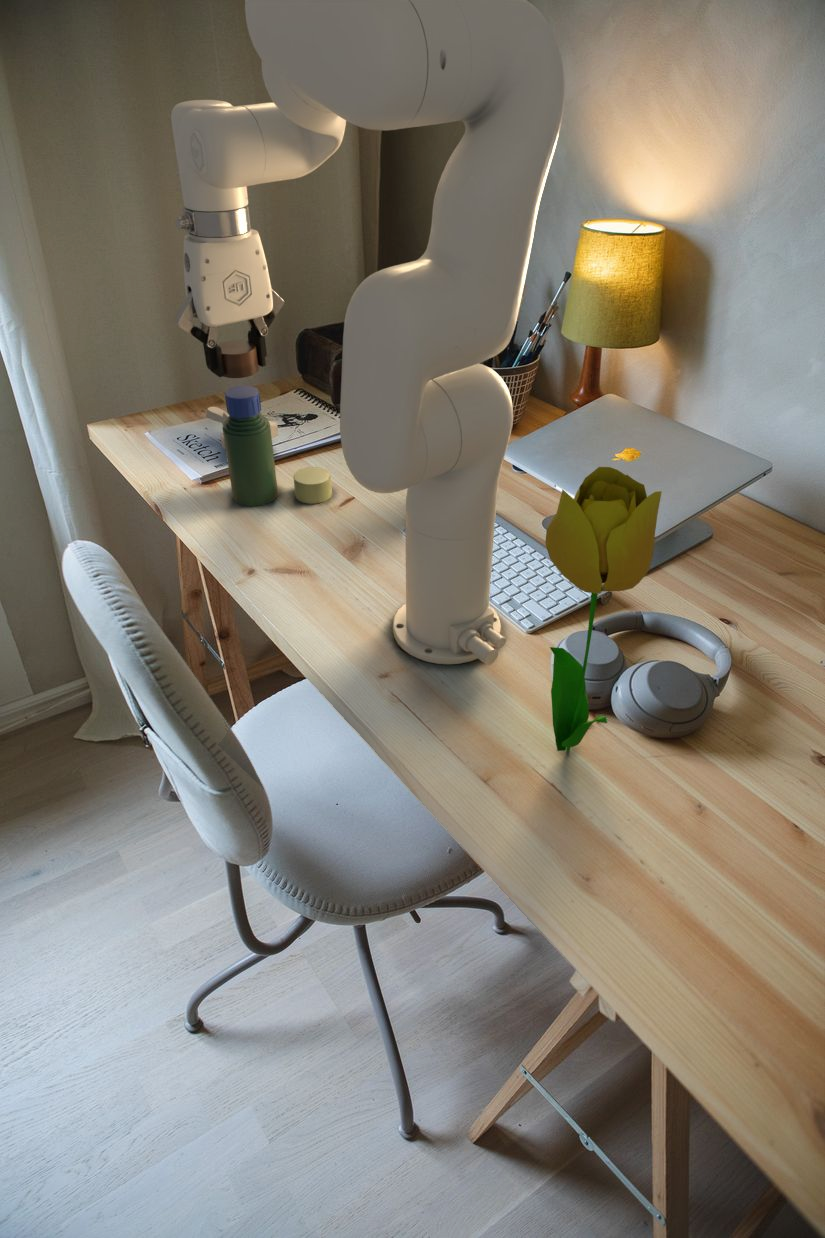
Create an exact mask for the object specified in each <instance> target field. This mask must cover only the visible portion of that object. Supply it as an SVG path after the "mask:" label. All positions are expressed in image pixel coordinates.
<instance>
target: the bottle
mask: <svg viewBox="0 0 825 1238" xmlns="http://www.w3.org/2000/svg"><path fill="white" fill-rule="evenodd" d="M269 421H270V420H268V418H267V417H266V416H264V415H263V414H262V413H261V412H260V413H259V414H257V415H256V416H253V417H249V418H235V417H232V416H230V415H229V417H228V418H227V419H226V421H225V422H224V424H223V425H222V427H221V428H222V434H223V436H224V442H225V449H224V450H225V454H226V460H227V467H228V474H229V479H230V480H229V481H230V487H231V494H232V499H233V500H234V502H235V503H237V504H238V505H241V506H244V507H259V506H260V507H261V506H264V505H265V506H266V505H268V504H270V503H271V502H273V501H274V500H276V499H277V498H278V495H279V491H278V481H277V473H276V465H275V456H274V448H273V447H274V445H273V438H272V437H271V428H270V423H269Z"/></svg>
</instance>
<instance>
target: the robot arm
mask: <svg viewBox="0 0 825 1238" xmlns="http://www.w3.org/2000/svg"><path fill="white" fill-rule="evenodd" d="M244 13H245V22H246V27H247V32H248V35H249V38H250V40H251V43H252V46H253V48H254V50H255V51H256V54H257V55H258V57H259V59H260V60H261V76H262V80H263V83H264V87H265V89H266V92H267V94H268V96H269V97H270V100H271V101H272V102H262V103H254V104H244V105H237V106H236V105H235V106H234V105H232V103H230V102H228V101H224V100H218V99H193V100H185V101H182V102H179V103H177V104H175V105H174V106H173V108H172V110H171V113H170V121H171V122H170V123H171V130H172V135H173V143H174V149H175V156H176V162H177V167H178V176H179V182H180V187H181V189H180V190H181V195H182V200H183V201H182V202H183V206H184V207H183V208H182V211H183V214H182V215H180V216H177V217H175V221H174V222H175V226H176V228H177V230H178V231H181V230H184V231H186V232H187V233H188V234H187V235H184V237H183V253H182V255H183V256H182V257H183V279H184V288H185V289H184V290H185V299H184V301H183V303H182V305H181V307H180V309H179V310H178V312H177V314H176V316H175V318H174V320H173V323H174V325H175V326H176V327H178V328H179V329H181V330H183V331H185V332H186V333H187V334H189V335H190V336H193V338H195V339H197V340H198V341H199V342H200V343H202V346H203V352H204V358H205V365H206V367H207V369H208V370H209V371H210V372H211V373H213V374H214V375H215V376H217V377H218V378H224V377H223V376H224V375H225V372H224V365H223V358H222V351H221V347H220V346H218V334H219V327H220V326H225V325H230V324H231V325H232V324H235V323H239V322H244V321H247V323H248V325H249V327H250V329H249V330H248V331H247V341H250V342H253V343H254V344H255V345H256V351H257V359H258V367H261V368H263V367H265V366H267V362H266V361H267V360H266V357H268V356H267V355H268V352H267V351H268V350H267V343H266V336H267V335H268V334H269V328H270V327H271V325H272V323H273V322H274V320H275V318H276V315H278V314H279V313H280V311H281V310H282V308H283V306H284V305H285V301H284V299H283V298H282V297H281V296H280V295H279V294H278V293H277V292H276V291H275V290H274V289H273V288H272V283H271V279H270V273H269V268H268V263H267V259H266V255H265V251H264V247H263V243H262V240H261V236H260V234H259V231H258V230H256V229H253V228H252V224H251V215H250V214H251V213H250V204H249V197H248V187H253V186H257V185H261V184H268V183H274V182H282V181H287V180H294V179H295V180H296V179H299V178H302V177H304V176H307V175H309V174H311V173H312V172H314V171H315V170H316V169H318V168H319V167H320V166H322V165H323V164H324V163H325V162H326V161H327V160H328V159H330V157H332V156H333V155H334V154H335V153H336V152H337V151H338V150H339V148H340V147H341V145H342V142H343V140H344V136H345V131H346V126H347V123H350V124H352V125H353V126H357V127H359V128H362V129H366V130H370V131H371V130H372V131H397V130H402V129H403V130H404V129H410V128H416V127H426V126H427V127H428V126H433V125H441V124H447V123H454V122H460V121H461V122H462V123H463V124H464V127H465V129H464V134H463V135H462V137H461V139H460V140H459V142H458V144H457V145H456V147H455V148H454V149H453V151H452V153H451V155H450V156H449V158H448V160H447V162H446V164H445V166H444V169H443V171H442V173H441V175H440V178H439V180H438V184H437V187H436V190H435V193H434V197H433V204H432V213H431V224H430V225H431V226H430V232H429V233H430V234H429V237H428V242H427V246H426V250H425V251H424V253H423V254H422V255H421V256H420V257H419V258H418V259H416V260H412V261H409V262H404V263H400V264H396V265H393V266H389V267H388V266H387V267H386V268H382V269H380V270H378V271H376V272H373V273H372V274H370V275H368V276H367V277H366V278H365V279H363V281H361V283H360V284H359V285H358V286H357V287H356V289H355V291H354V292H353V294H352V296H351V298H350V300H349V303H348V305H347V309H346V312H345V317H344V323H343V335H342V354H341V355H342V356H341V382H340V405H339V433H340V435H339V436H340V445H341V450H342V455H343V458H344V461H345V463H346V466H347V468H348V470H349V472H350V473H351V475H352V476H353V479H355V481H356V482H357V483H358V484H359V485H360V486H361V487H363V488H365V489H366V490H368V491H370V492H374V493H377V494H393V493H398V492H401V491H404V490H406V496H405V515H404V517H405V519H404V520H405V521H404V522H405V529H404V530H405V603H404V604H402V605H401V606H400V607H399V608H398V610H396V612H395V614H394V616H393V620H392V633H393V637H394V639H395V641H396V643H397V644H398V646H399V647H400V648H401V649H402V650H403V651H405V652H406V653H407V654H409V655H410V656H412V657H415V658H416V659H419V660H421V661H424V662H426V663H427V662H428V663H432V664H438V665H458V664H463V663H464V664H465V663H469V662H472V661H475V660H480V662H481V663H483V664H484V665H486V666H490V665H492V664H493V663H494V662H495V661H496V659H497V658H498V655H499V653H498V650H497V649H501V648H503V647H504V646H505V645H506V642H507V639H506V638H505V637H504V636H503V635H502V634H501V629H502V625H501V624H502V623H501V620H500V617H499V614H498V613H497V612H496V610H495V609H494V608H493V607H492V606H490V595H491V581H492V568H493V552H494V537H495V525H496V524H495V522H496V514H497V504H498V503H497V502H498V491H499V483H500V477H501V473H502V467H503V463H504V459H505V456H506V453H507V449H508V447H509V443H510V439H511V435H512V430H513V421H514V406H513V400H512V396H511V393H510V389H509V387H508V386H507V384H506V382H505V381H504V379H503V378H502V376H500V375H499V373H497V372H496V371H495V370H494V369H492V368H491V367H489V366H487V365H485V364H482V363H483V362H486V361H488V360H489V359H492V358H494V357H496V356H498V355H499V354H501V353H502V352H503V351H504V350H505V349H506V348H507V347H508V345H509V344H510V342H511V339H512V337H513V335H514V331H515V330H516V325H517V321H518V316H519V311H520V307H521V302H522V297H523V292H524V287H525V282H526V277H527V272H528V267H529V261H530V256H531V251H532V248H533V247H532V246H533V240H534V235H535V229H536V221H537V217H538V212H539V208H540V204H541V203H540V202H541V198H542V195H543V192H544V188H545V184H546V181H547V177H548V174H549V171H550V167H551V165H552V161H553V157H554V155H555V150H556V148H557V144H558V139H559V135H560V131H561V127H562V122H563V116H564V108H565V97H566V91H565V90H566V87H565V86H566V84H565V71H564V65H563V60H562V56H561V50H560V47H559V43H558V42H557V39H556V36H555V34H554V31H553V29H552V28H551V26H550V23H548V21H547V19H546V18H545V16H544V15H543V14H542V12H541V11H540V10H539V9H538V8H537V7H536V6H535V5H534V4H532V3H531V2H530V1H528V0H244ZM192 317H193V318H195V319H198V320H199V322H200V323H199V327H198V326H196V325H195V324H193V323H192ZM495 648H497V649H495Z"/></svg>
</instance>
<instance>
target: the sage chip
mask: <svg viewBox="0 0 825 1238" xmlns="http://www.w3.org/2000/svg"><path fill="white" fill-rule="evenodd" d="M331 475H332V474H331V472H330V471H329V470H328V469H326V468H323V467H319V466H308V467H303V468H301V469H299V470H297V471H295V472H294V474H293V485H294V486H293V487H294V495H295V496H294V497H295V499H296V500H297V501H298V502H301V503H303V504H310V505H312V504H313V505H314V504H321V503H324V502H327V501H328V500H329V499H331V497H332V495H333V490H332V477H331Z"/></svg>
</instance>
